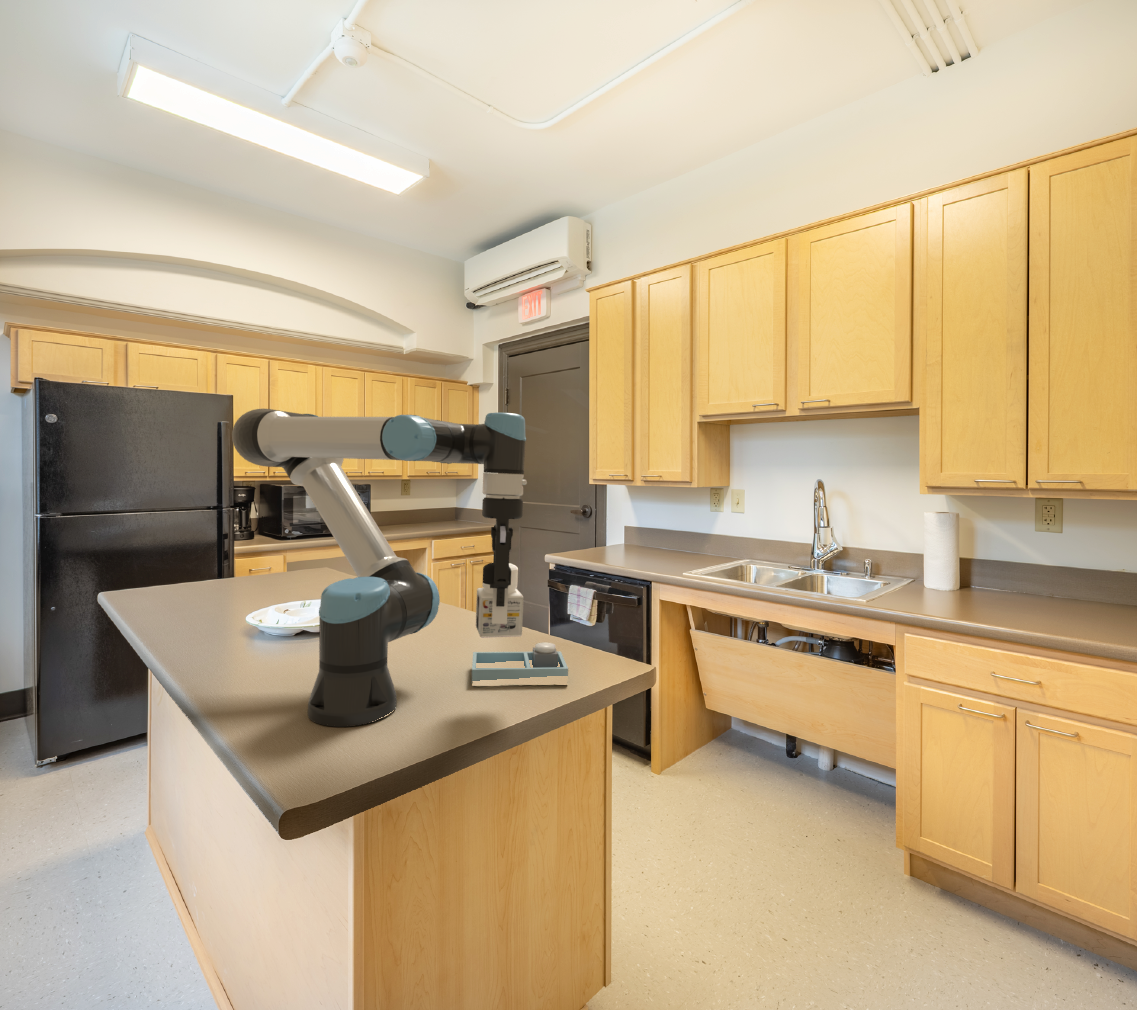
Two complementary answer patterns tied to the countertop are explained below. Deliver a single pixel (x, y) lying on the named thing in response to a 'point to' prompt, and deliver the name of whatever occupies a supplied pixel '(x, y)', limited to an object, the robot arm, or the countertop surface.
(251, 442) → the robot arm
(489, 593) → the container
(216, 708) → the countertop surface
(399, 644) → the countertop surface
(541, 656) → the tray
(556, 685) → the countertop surface
